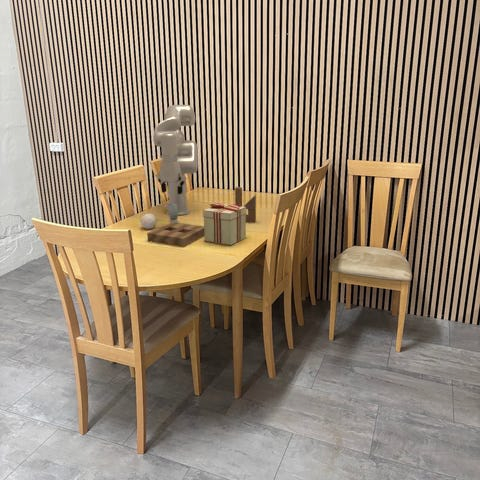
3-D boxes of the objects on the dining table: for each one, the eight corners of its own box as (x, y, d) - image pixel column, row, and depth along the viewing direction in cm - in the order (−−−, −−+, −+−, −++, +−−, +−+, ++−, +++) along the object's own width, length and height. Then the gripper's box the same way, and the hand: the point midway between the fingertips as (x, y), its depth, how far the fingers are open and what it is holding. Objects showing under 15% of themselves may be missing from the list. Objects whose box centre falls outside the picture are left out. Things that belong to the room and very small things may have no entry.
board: (147, 241, 226) (147, 233, 225) (172, 229, 243) (171, 221, 242) (183, 247, 217) (183, 238, 216) (206, 234, 234) (206, 226, 233)
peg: (168, 226, 248) (167, 205, 245) (173, 224, 252) (171, 203, 248) (175, 227, 247) (173, 206, 243) (179, 225, 250) (178, 204, 246)
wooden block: (254, 222, 252) (254, 189, 246) (234, 221, 254) (233, 188, 248) (256, 221, 255) (255, 187, 250) (236, 219, 258) (235, 186, 252)
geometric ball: (145, 233, 247) (138, 219, 248) (159, 226, 248) (152, 212, 249) (144, 230, 239) (137, 216, 240) (159, 222, 241) (151, 209, 242)
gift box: (249, 234, 233) (249, 199, 228) (233, 246, 217) (233, 209, 212) (218, 230, 240) (217, 196, 234) (200, 242, 224) (198, 205, 218)
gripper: (151, 158, 239) (153, 192, 244) (180, 160, 231) (182, 195, 236) (160, 156, 245) (162, 190, 250) (189, 158, 238) (190, 192, 243)
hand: (172, 192), depth 243 cm, fingers open, 9 cm apart
